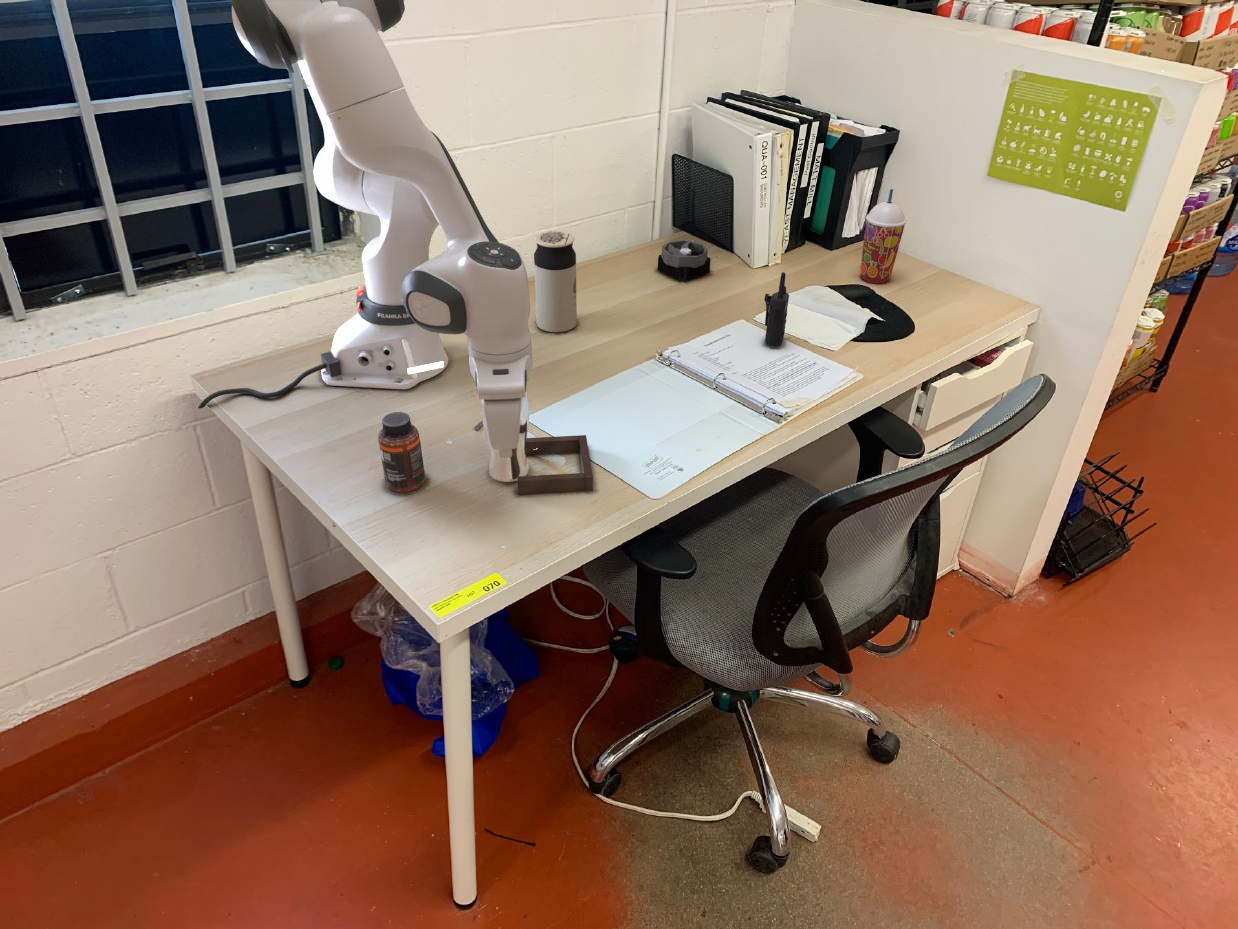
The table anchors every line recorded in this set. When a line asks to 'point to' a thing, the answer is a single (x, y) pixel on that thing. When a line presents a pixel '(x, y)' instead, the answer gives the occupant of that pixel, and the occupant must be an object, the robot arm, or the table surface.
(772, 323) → the two-way radio
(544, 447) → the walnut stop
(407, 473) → the supplement bottle
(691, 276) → the cpu cooler
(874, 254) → the smoothie
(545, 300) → the travel mug
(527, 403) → the beer glass
